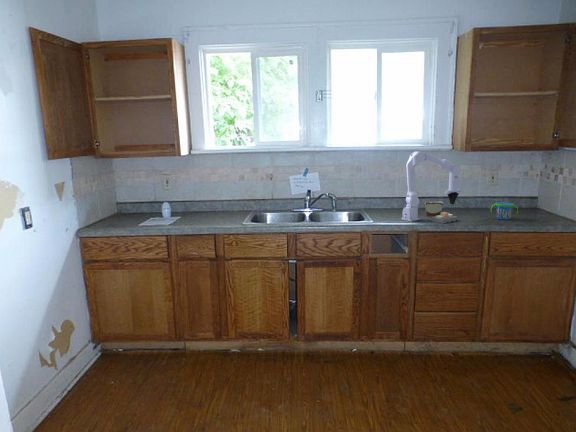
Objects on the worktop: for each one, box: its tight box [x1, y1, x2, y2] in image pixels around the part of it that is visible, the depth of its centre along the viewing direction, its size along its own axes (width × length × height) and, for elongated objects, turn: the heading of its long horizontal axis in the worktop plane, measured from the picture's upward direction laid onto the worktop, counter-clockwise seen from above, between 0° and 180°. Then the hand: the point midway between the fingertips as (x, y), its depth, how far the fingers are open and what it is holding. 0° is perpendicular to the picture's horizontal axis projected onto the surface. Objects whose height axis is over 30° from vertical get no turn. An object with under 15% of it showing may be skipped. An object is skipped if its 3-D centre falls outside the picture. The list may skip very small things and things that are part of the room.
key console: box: [430, 215, 459, 224], centre depth 247 cm, size 15×9×2 cm, turn 123°
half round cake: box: [424, 200, 444, 218], centre depth 263 cm, size 12×6×10 cm, turn 84°
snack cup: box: [490, 202, 519, 221], centre depth 249 cm, size 16×10×10 cm
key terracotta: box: [440, 211, 450, 218], centre depth 247 cm, size 3×3×4 cm
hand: (452, 204), depth 251 cm, fingers closed
